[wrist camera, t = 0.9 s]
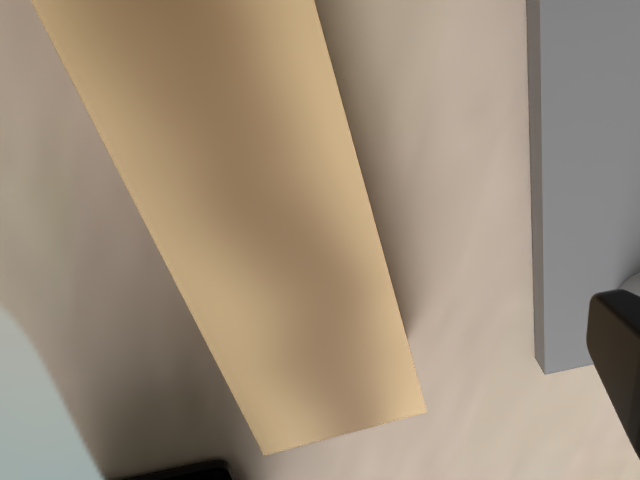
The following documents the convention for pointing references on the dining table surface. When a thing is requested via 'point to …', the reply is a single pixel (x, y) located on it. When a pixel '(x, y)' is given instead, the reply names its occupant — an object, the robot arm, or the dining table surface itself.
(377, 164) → the dining table surface
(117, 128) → the shelf board
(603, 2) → the peg rack
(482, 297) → the dining table surface
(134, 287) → the dining table surface
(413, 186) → the dining table surface
